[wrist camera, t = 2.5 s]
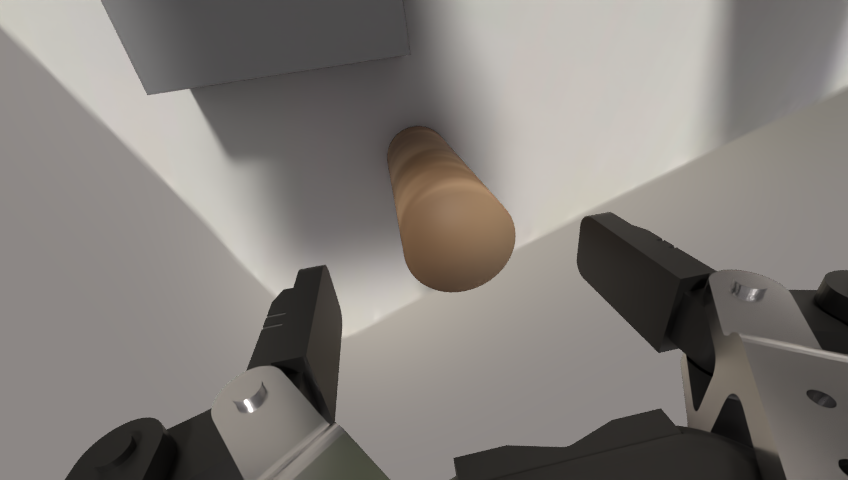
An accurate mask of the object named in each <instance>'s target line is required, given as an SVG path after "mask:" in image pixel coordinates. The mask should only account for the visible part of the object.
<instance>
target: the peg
mask: <svg viewBox="0 0 848 480" xmlns="http://www.w3.org/2000/svg"><path fill="white" fill-rule="evenodd" d="M387 161H388V167H389V173H390V178H391V184H392V190H393V195H394V201H395V207H396V212H397V218H398V224H399V229H400V235H401V241H402V246H403V252H404V257H405V261H406V264H407V266H408V268H409V270H410V272H411V273H412V274H413V276H414V277H415V278H416V279H417V280H418V281H420V282H421V283H422V284H424V285H426V286H428V287H430V288H432V289H435V290H438V291H443V292H461V291H467V290H471V289H474V288H476V287H479V286H481V285H483V284H484V283H486V282H488V281H489V280H491V279H492V278H493V277H495V276H496V275H497V274H498V273H499V272H500V271H501V270H502V269H503V267H504V266H505V265H506V263H507V262H508V260H509V258H510V256H511V254H512V251H513V249H514V244H515V227H514V223H513V220H512V218H511V216H510V214H509V213H508V211H507V210H506V209H505V208H504V206H503V205H502V204H501V203H500V202H499V201H498V200H497V199H496V197H495V196H494V195H493V194H492V193H491V192H490V191H489V190H488V189H487V187H486V186H485V185H484V184H483V183H482V182H481V181H480V180H479V179H478V177H477V176H476V175H475V174H474V173H473V172H472V171H471V170H470V169H469V167H468V166H467V165H466V164H465V163H464V162H463V161H462V160H461V159H460V157H459V156H458V155H457V154H456V153H455V152H454V151H453V150H452V149H451V147H450V146H449V145H448V144H447V143H446V142H445V141H444V140H443V139H442V137H441V136H440V135H439V134H438V133H437V132H435V131H434V130H432V129H430V128H427V127H422V126H414V127H409V128H407V129H405V130H403V131H401V132H400V133H398V134H397V135H396V136H395V138H394V139H393V140H392V142H391V144H390V146H389V149H388V154H387Z"/></svg>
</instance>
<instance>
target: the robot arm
mask: <svg viewBox="0 0 848 480" xmlns="http://www.w3.org/2000/svg"><path fill="white" fill-rule="evenodd" d="M577 265H578V269H579V272H580V274H581V276H582V277H583V278H584V279H585V280H586V281H587V282H588V283H589V284H590V285H591V286H592V287H593V288H594V289H595V290H596V291H597V292H598V293H599V294H600V295H601V296H602V297H603V298H604V299H605V300H606V301H607V302H608V303H609V304H610V305H611V306H612V307H613V308H614V309H615V310H616V311H617V312H618V313H619V314H620V315H621V316H622V317H623V318H624V319H625V320H626V321H627V322H628V323H629V324H630V325H631V326H632V327H633V328H634V329H635V330H636V331H637V332H638V333H639V334H640V335H641V336H642V337H643V338H645V340H646V341H648V343H650V345H651V346H652V347H654V349H655V350H656V351H657V352H658V353H661V352H665V351H669V350H673V349H678V348H679V349H681V350H682V351H683V352H684V353H683V356H682V359H681V370H682V379H683V387H684V396H685V404H686V412H687V421H688V427H683V426H675V425H674V423H673V422H672V421H671V420H670V419H669V417H668V416H667V415H666V414H665V413H664V412H663V411H662V409H657V410H652V411H649V412H644V413H640V414H636V415H632V416H628V417H624V418H619V419H615V420H611V421H610V422H608V423H607V424H605V425H603V426H602V427H600V428H598V429H597V430H595V431H594V432H592V433H590V434H589V435H587V436H585V437H584V438H583V439H581V440H579V441H577V442H576V443H574V444H572V445H570V446H567V447H537V446H507V445H506V446H502V447H498V448H494V449H490V450H486V451H481V452H477V453H473V454H469V455H465V456H460V457H456V458H454V464H455V471H456V476H455V477H454V478H452V479H451V480H848V270H840V271H833V272H830V273H828V274H826V275H825V277H824V279H823V281H822V283H821V285H820V286H819V288H818V290H788V289H786V288H785V287H784V286H783V285H781V284H780V283H778V282H776V281H774V280H772V279H770V278H767V277H765V276H762V275H759V274H756V273H752V272H747V271H741V270H721V271H715V270H714V269H712V268H710V267H709V266H707V265H705V264H703V263H702V262H700V261H698V260H697V259H695V258H693V257H692V256H690V255H688V254H687V253H685V252H683V251H682V250H680V249H678V248H674V246H673V245H672V244H670V243H668V242H667V241H665V240H664V241H662V239H661V238H660V237H658V236H657V235H655V234H653V233H652V232H650V231H648V230H646V229H643V228H640V227H637V226H634V225H631V224H630V223H628V222H626V221H625V220H623V219H621V218H620V217H618V216H617V215H615V214H613V213H611V212H607V213H601V214H596V215H591V216H586V217H584V218H583V219H582V222H581V226H580V235H579V244H578V253H577ZM341 335H342V315H341V310H340V305H339V302H338V299H337V296H336V293H335V289H334V286H333V283H332V280H331V277H330V273H329V270H328V268H327V266H326V265H322V266H316V267H311V268H306V269H300V270H299V272H298V275H297V278H296V281H295V284H294V288H290V289H285V290H283V291H282V292H281V293H280V294H279V295H278V296H277V298H276V299H275V300H274V301H273V302H272V304H271V307H270V309H269V312H268V315H267V318H266V320H265V323H264V325H263V330H262V331H261V333H260V336H259V339H258V341H257V344H256V347H255V349H254V352H253V355H252V357H251V360H250V363H249V365H248V368H247V371H245V372H243V373H241V374H240V375H238V376H236V377H235V378H234V379H232V380H231V381H230V382H229V383H228V384H226V386H224V387H223V389H222V390H221V391H220V392H219V394H218V395H217V397H216V398H215V400H214V402H213V405H212V408H211V409H210V410H208V411H205V412H204V413H201V414H199V415H197V416H195V417H193V418H191V419H189V420H187V421H184V422H182V423H180V424H178V425H176V426H174V427H172V428H170V429H167V430H166V429H165V427H164V426H163V425H162V424H161V422H159V420H157V419H155V418H141V419H136V420H133V421H130V422H128V423H125V424H123V425H121V426H119V427H118V428H116V429H114V430H112V431H111V432H109V433H108V434H106V435H105V436H104V437H102V438H101V439H99V440H98V441H97V442H96V443H95V444H93V445H92V446H91V447H90V448H89V449H88V450H87V451H86V452H85V453H84V454H83V455H82V457H81V458H80V459H79V460H78V461H77V463H76V464H75V465H74V467H73V468H72V470H71V471H70V473H69V474H68V476H67V477H66V479H65V480H390V479H389V478H388V477H387V476H386V475H385V474H384V473H383V472H382V471H381V469H380V468H379V467H378V466H377V465H376V464H375V463H374V462H373V461H372V460H371V459H370V457H369V456H368V455H367V454H366V453H365V452H364V451H363V450H362V449H361V448H360V446H359V445H358V444H357V443H356V442H355V441H354V440H353V439H352V438H351V437H350V436H349V434H348V433H347V432H346V431H345V430H344V429H343V428H342V427H341V426H340V425H338V424H337V423H336V422H335V411H336V398H337V386H338V373H339V360H340V348H341Z"/></svg>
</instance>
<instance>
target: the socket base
mask: <svg viewBox="0 0 848 480" xmlns="http://www.w3.org/2000/svg"><path fill="white" fill-rule="evenodd" d="M101 2H102V4H103V6H104V8H105V10H106V12H107V14H108V16H109V18H110V20H111V22H112V24H113V26H114V28H115V30H116V32H117V34H118V36H119V38H120V40H121V42H122V44H123V46H124V48H125V50H126V52H127V54H128V57H129V59H130V61H131V63H132V65H133V67H134V69H135V71H136V73H137V75H138V77H139V79H140V81H141V83H142V85H143V87H144V89H145V91H146V93H147V95H152V94H158V93H164V92H171V91H177V90H184V89H190V88H197V87H203V86H210V85H216V84H223V83H229V82H236V81H242V80H249V79H255V78H262V77H268V76H274V75H281V74H287V73H294V72H300V71H307V70H313V69H320V68H326V67H333V66H339V65H346V64H352V63H359V62H365V61H372V60H378V59H384V58H391V57H397V56H404V55H410V48H409V41H408V33H407V26H406V18H405V11H404V4H403V0H101Z"/></svg>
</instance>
